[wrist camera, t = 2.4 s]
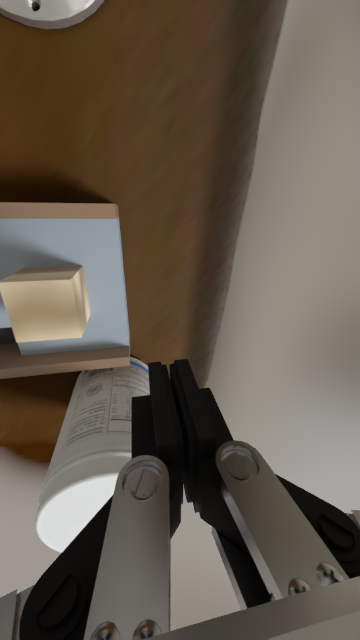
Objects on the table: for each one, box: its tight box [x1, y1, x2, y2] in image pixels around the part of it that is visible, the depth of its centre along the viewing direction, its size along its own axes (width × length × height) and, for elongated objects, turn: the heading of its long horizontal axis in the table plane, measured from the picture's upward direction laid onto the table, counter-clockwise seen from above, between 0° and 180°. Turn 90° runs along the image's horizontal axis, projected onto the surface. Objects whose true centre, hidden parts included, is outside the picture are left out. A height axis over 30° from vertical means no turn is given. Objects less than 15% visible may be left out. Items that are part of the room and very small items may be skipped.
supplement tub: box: [35, 357, 150, 553], centre depth 23 cm, size 10×10×15 cm
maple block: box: [0, 266, 90, 343], centre depth 19 cm, size 4×4×4 cm
